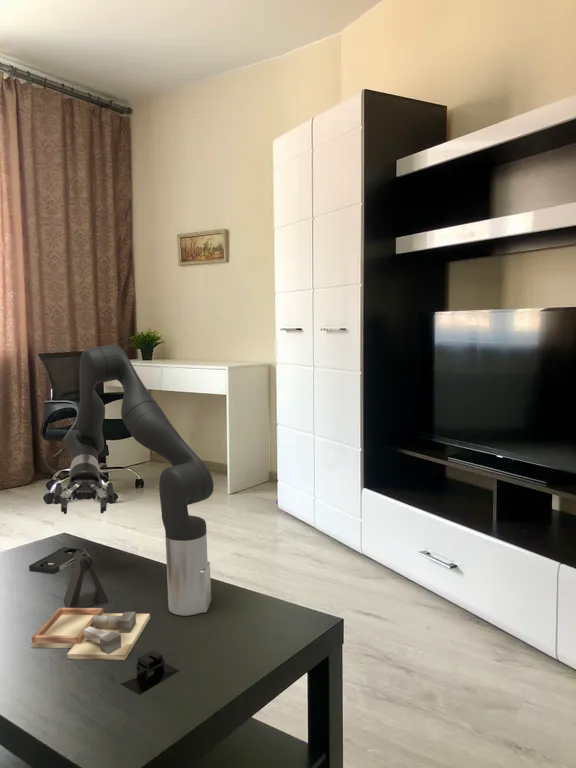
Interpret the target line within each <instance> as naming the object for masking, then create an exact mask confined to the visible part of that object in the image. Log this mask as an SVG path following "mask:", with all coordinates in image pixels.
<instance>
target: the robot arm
mask: <svg viewBox="0 0 576 768" xmlns="http://www.w3.org/2000/svg"><path fill="white" fill-rule="evenodd" d="M112 381H118V382H119V383H120V384H121V387H123V397H122V401H121V409H120V415H121V420H122V422H123V424H124V425H125V427H126V428H127V430H128V431H129V433H130V435H131V436H132V438H133V439H134V440H135V441H136V442H137V443H138V444H140V445H141V446H143V447H144V448H146V449H147V450H150V451H152V452H153V453H155V454H157V455H159V456H161V457H162V458H164V459H165V460H167V461H168V462H169V463H170V465H172V466H168V467H166V468H164V469H162V471H161V473H160V476H159V481H158V482H159V483H158V490H159V500H160V501H159V502H160V509H161V520H162V523H163V527H164V532H165V534H164V535H165V553H166V554H165V556H166V559H165V560H166V575H167V576H166V580H167V582H166V583H167V603H168V610H169V612H170V613H171V614H174V615H177V616H193V615H198V614H203V613H207V611H208V610H209V607H210V605H211V602H212V588H211V587H212V584H211V583H212V582H211V563H210V561H208V560H209V559H208V538H207V537H208V536H207V531H208V530H207V523H206V522H207V521H206V520H205V519H204V518H202V517H200V516H196V515H190V514H189V508H188V506H191V505H193V504H196V503H199V502H203V501H205V500H207V499H209V498H210V497H211V496H212V494H213V493H214V488H215V487H214V486H215V485H214V480H213V476H212V475H211V472H210V470H209V468H208V467H207V465H206V464H205V463H204V461H203V460H202V459H201V458H200V456H198V454H196V452H195V451H194V450H192V448H191V447H190V446H189V445H188V443H186V441H185V440H184V438H182V437H181V435H180V433H179V432H178V431H177V430H176V428H175V427H174V426H173V424H172V423H171V421H170V420H169V419H168V417H167V415H166V414H165V412H164V411H163V409H162V408H161V406H160V405H159V403H157V401H156V400H155V399H154V397H153V396H152V394H150V392H149V390H148V389H147V388H146V386H145V385H144V383H143V381H142V380H141V378H140V376H139V375H138V373H137V371H136V370H135V367H134V366H133V363H132V361H131V360H130V359H129V356H128V355H127V354H126V351H124V349H123V348H122V347H121V346H119V345H117V344H107V345H102V346H96V347H95V346H94V347H90V348H87V349H85V350H84V351H82V353H81V355H80V360H79V406H78V411H77V416H76V422H75V428H76V429H73V430H71V431H70V432H68V433H67V434H66V437H65V449H66V451H67V454H68V456H69V457H70V459H71V462H70V468H69V475H68V476H69V478H68V479H69V481H68V482H69V483H68V484H67V485H62V483H61V482H57V483H55V489H54V494H53V504H54V505H59V504H60V506H61V507H60V512H61V513H63V515H67V514H68V505H69V504H71V503H73V502H75V501H76V500H92V501H93V502H94V503H99V505H100V508H99V509H100V513H99V514H104V512H107V507H108V504H110V505H111V504H113V503H114V497H115V492H114V485H113V483H112V482H108V483H107V485H106V484H104V485H102V484H101V482H100V465H99V455H100V454H101V453H102V452H103V450H104V448H105V447H104V446H105V441H104V440H105V438H104V435H103V423H104V419H105V415H106V407H105V403H104V402H103V400H102V398H101V397H100V395H98V393H97V391H96V390H95V389H96V386H97V385H98V384H101V383H102V384H103V383H107V382H112ZM65 492H66V493H65Z"/></svg>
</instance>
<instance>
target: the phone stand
mask: <svg viewBox="0 0 576 768" xmlns="http://www.w3.org/2000/svg"><path fill="white" fill-rule="evenodd" d="M81 549H82V550H83V552H84V553H85V555H86V556H85V557H83V555H82V554H81V552H80V551H79V550H77V551H76V552H75V553H74V554H75V555H74V557H75V562H74V564H73V565H74V566H73V568H72V572H71V575H70V579H69V582H68V585H67V589H66V591H65V595H64V598H63V603H64V605H65V607H66V608H93V607H96V606H100V605H104V604H108V603H109V599H108V597H107V595H106V593H105V591H104V588H103V586H102V584H101V581H100V580H99V578H98V576H97V574H96V572H95V568H94V559H93V558H92V557H91V555H90V554H89V552H88V550H87V549H85V548H81ZM86 550H87V551H86ZM85 573H87V575H88V578H89V581H90V584H91V587H92V589H93V592H94V593H92V594H87V595H82V596H80V595H81V590H82V585H83V579H84V576H85ZM95 605H96V606H95Z"/></svg>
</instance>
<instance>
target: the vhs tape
mask: <svg viewBox="0 0 576 768" xmlns="http://www.w3.org/2000/svg"><path fill="white" fill-rule="evenodd" d="M82 549H83V548H78V547H77V548H76V547H68V546H63V547H61V548H59V549H58V550H55V551H53V552H52V553H51V554H48V555H47V556H44V557H43V558H41V559H39V560H37V561H35V562H33V563H31V564H29V566H28V568H29V569H28V570H29V572H33V573H40V574H41V573H42V574H50V575H55V574H57V573H59V572H60V571H62V570H65V567H66V568H67V567H69V566H70V565H72V564H75V557H74V555H75V552H76V551H77V550H79V551H80V552H81V554H82V555H83V557H84V558H85V557H86V555H85V553H84V552H83V550H82ZM85 550H86V551H87V552H88V549H85Z"/></svg>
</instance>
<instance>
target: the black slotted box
mask: <svg viewBox="0 0 576 768" xmlns="http://www.w3.org/2000/svg"><path fill="white" fill-rule="evenodd" d="M136 660H137V662H136V664H135V665H136V668H135V669H136V675H134V676H132V677H130V678H128V679H127V680H124V681H123V682H121V683H120V685H121V686H123V687H124V688H126V689H127V690H129V691H131V692H132V693H136V694H137V695H139V696H140V695H142V694H144V693H145V692H148V691H149V690H150V689H152V688H154V687H155V686H157V685H159V684H161V683H162V682H164V681H165V680H167V679H169V678H170V677H173V676H174V675H175V674H177V673H178V672H180V670H179V669H177V668H175V667H173V666H171V665H169V664H168V663H166V662H165V658H164V655H163V654H162V653H159V652H158V651H156V650H153V649H152V650H150V651H148V652H146V653H145V654H143V655H140V656H139V657H138V658H137V659H136Z"/></svg>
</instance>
